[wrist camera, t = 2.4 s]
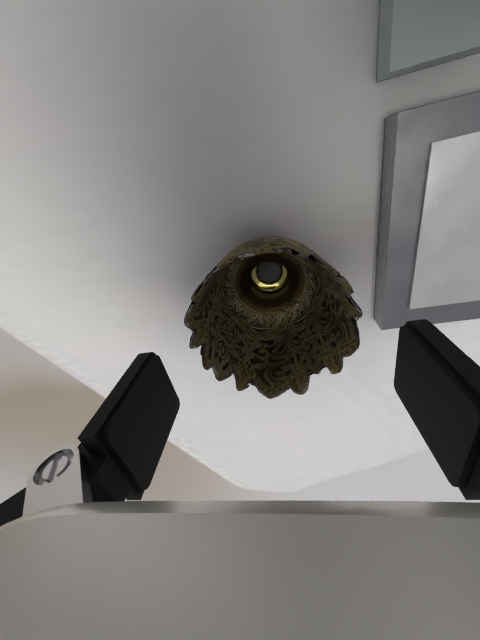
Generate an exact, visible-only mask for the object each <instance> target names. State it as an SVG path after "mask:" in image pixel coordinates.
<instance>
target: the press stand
mask: <svg viewBox="0 0 480 640" xmlns="http://www.w3.org/2000/svg"><path fill="white" fill-rule="evenodd" d="M479 52H480V0H380V12H379V35H378V59H377V82H379V81H383V80H386V79H390V78H393V77H397V76H400V75H403V74H407V73H410V72H414V71H417V70H421V69H424V68H428V67H431V66H435V65H438V64H441V63H445V62H448V61H452V60H455V59H459V58H462V57H466V56H469V55H473V54H476V53H479Z"/></svg>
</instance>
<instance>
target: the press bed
mask: <svg viewBox="0 0 480 640" xmlns="http://www.w3.org/2000/svg"><path fill="white" fill-rule="evenodd" d="M478 318H480V91H479V92H475V93H471V94H467V95H463V96H460V97H456V98H452V99H448V100H444V101H441V102H437V103H433V104H429V105H426V106H422V107H418V108H414V109H410V110H407V111H403V112H399V113H396V114H394V115H392V116H389V117H387V118H385V135H384V152H383V169H382V186H381V203H380V220H379V237H378V254H377V271H376V288H375V305H374V320H375V321H376V323H377V324H378V326H379V327H380V328H381V330H385V329H393V328H400V327H401V326H405V323H406V322H407V321H413V320H421V319H427V320H428V321H430V322H431V323H432V324H436V323H444V322H453V321H461V320H470V319H478Z"/></svg>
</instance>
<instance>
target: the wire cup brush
mask: <svg viewBox="0 0 480 640" xmlns="http://www.w3.org/2000/svg"><path fill="white" fill-rule="evenodd" d="M269 261H271V262H276V263H278V264H279V266H280V268H281V275H280V277H279V279H278V280H276V281H275V282H272V283H266V282H263V281H262V280H261V279H260V278H259V277H258V273H257V271H258V267H259V266H260V264H261V263H263V262H269ZM352 293H354V292H353V289H352V287H351V285H350V284H349V282H348V281H347V280H346V279H345V278H344V277H343V276H341V275H340V273H339V272H338V271H336V270H335V269H334V268H333V267H332V266H330V265H329V264H328V263H326V262H325V261H324V260H323V259H322V258H321V257H319V256H318V255H317V254H316V253H314V252H313V251H312V250H310V249H309V248H307V247H306V246H304V245H302V244H300V243H298V242H296V241H293V240H290V239H287V238H282V237H262V238H257V239H254V240H251V241H248V242H246V243H244V244H242V245H240V246H239V247H237V248H236V249H234V250H233V251H231V252H230V253H229V254H228V255H227V256H226V257H225V258H223V259H222V260H221V262H220V263H219V264H218V265H217V266H216V267H215V268H214V269H213V270H212V271H211V272H210V273H209V274H208V275H207V276H206V278H205V280H204V281H203V282H202V283H201V284H200V285H199V286H198V288H197V289H196V291H195V292H194V294H193V295H192V298H191V300H192V302H191V305H190V307H189V309H188V311H187V313H186V315H185V318H184V324H185V326H187V327H188V328H189V329H191V330H192V331H193V333H192V336H191V338H190V344H189V347H190V348H191V349H193V348H197V347H199V346H200V345H202V347H201V351H200V354H201V355H202V363H203V367H204V369H206V370H209V369H210V368H212V367H213V372H214V374H215V377H216V379H217V380H218V381H223V380H225V379H227V378H228V377H230V376H231V374H234V376H235V380H236V388H237V390H238V391H242V390H244V389H246V388H248V387H249V385H248V384H249V383H251V385H253V386H255V387H256V388H257V390H258V391H259V392H260V393H261V394H262V395H264V396H265V397H267V398H269V399H272V398H275V397H277V396H280V395H281V394H282V393H284V392H285V391H287V390H288V389H290V388H291V389H292V391H293V392H294V393H296V394H300V395H302V394H304V393H305V392H306V391H307V390H308V386H309V379H310V377H309V376H310V375H312V374H320V372H321V370H322V369H323V368H325V367H327V368H328V369H329V371H331V372H330V373H331V374H336V373H339V372H341V370H342V367H343V357H348V356H350V355H352V354H353V353H354V352H355V351H356V350H357V349H358V348H359V344H360V340H359V330H358V327H357V322H356V321H357V320H358V319H359V318H360V317H362V315H363V314H362V311H361V309H360V307H359V306H358V305H357V304H356V302H355V301H354V300H353V299H352V297H351V296H350V294H352ZM356 317H357V320H356ZM308 377H309V378H308ZM307 382H308V383H307Z"/></svg>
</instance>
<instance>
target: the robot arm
mask: <svg viewBox="0 0 480 640" xmlns="http://www.w3.org/2000/svg"><path fill="white" fill-rule="evenodd" d="M394 387H395V390H396V392H397V394H398V396H399V398H400V399H401V401H402V403H403V404H404V406H405V408H406V410H407V411H408V413H409V415H410V416H411V418H412V420H413V421H414V423H415V425H416V427H417V428H418V430H419V432H420V433H421V435H422V437H423V438H424V440H425V442H426V444H427V445H428V447H429V449H430V450H431V452H432V454H433V455H434V457H435V459H436V460H437V462H438V464H439V466H440V467H441V469H442V471H443V472H444V474H445V476H446V477H447V479H448V481H449V482H450V484H451V485H452V486H454V487H459V489H460V491H461V492H462V494H463V496H464V497H465V499H466V500H480V366H478V365H477V364H476V363H475V362H474V361H473V360H472V359H471V358H469V357H468V356H467V355H466V354H465V353H464V352H463V351H461V350H460V349H459V348H458V347H457V346H456V345H455V344H454V343H453V342H452V341H450V340H449V339H448V338H447V337H446V336H445V335H444V334H443V333H442V332H441V331H439V330H438V329H437V328H436V327H435V326H434V325H433V324H432V323H431V322H430V321H428V320H427V319H421V320H413V321H407V322H406V323H405V326H401V327H400V330H399V339H398V349H397V358H396V368H395V377H394ZM179 406H180V402H179V398H178V396H177V394H176V392H175V390H174V387H173V385H172V383H171V381H170V379H169V376H168V374H167V372H166V370H165V368H164V365H163V363H162V361H161V359H160V357H159V356H158V355H156V354H155V353H153V352H149V353H141V354H139V355H137V357H136V358H135V360H134V361H133V362H132V364H131V365H130V366H129V368H128V369H127V371H126V372H125V373H124V375H123V376H122V377H121V379H120V380H119V382H118V383H117V384H116V386H115V387H114V388H113V390H112V391H111V393H110V394H109V395H108V397H107V398H106V399H105V401H104V402H103V404H102V405H101V407H100V408H99V409H98V411H97V412H96V413H95V415H94V416H93V417H92V419H91V420H90V422H89V423H88V424H87V426H86V427H85V429H84V430H83V431H82V433H81V434H80V435H79V437H78V439H79V440H80V442H81V443H80V445H79V446H78V447H76V446H75V445H65V446H61V447H59V448H57V449H55V450H54V451H52V452H50V453H49V454H47V455H46V456H45V457H44V458H43V459H42V460H40V461H39V463H38V464H37V465H36V466H35V467H34V468H33V470H32V472H31V473H30V475H29V477H28V481H27V486H26V488H24V489H23V490H21V491H19V492H18V493H16V494H15V495H13V496H12V497H10V498H9V499H7V500H6V501H4V502H3V503H1V504H0V640H480V503H463V502H421V501H420V502H419V501H124V500H125V498H126V499H127V500H141V498H142V495H143V493H144V490H146V489H147V488H148V487H149V485H150V483H151V480H152V478H153V475H154V473H155V470H156V467H157V465H158V462H159V460H160V457H161V454H162V452H163V449H164V446H165V444H166V441H167V439H168V436H169V433H170V431H171V428H172V426H173V423H174V420H175V418H176V415H177V413H178V410H179Z"/></svg>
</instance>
